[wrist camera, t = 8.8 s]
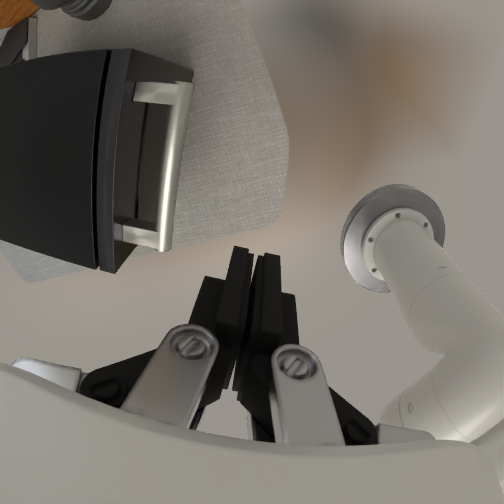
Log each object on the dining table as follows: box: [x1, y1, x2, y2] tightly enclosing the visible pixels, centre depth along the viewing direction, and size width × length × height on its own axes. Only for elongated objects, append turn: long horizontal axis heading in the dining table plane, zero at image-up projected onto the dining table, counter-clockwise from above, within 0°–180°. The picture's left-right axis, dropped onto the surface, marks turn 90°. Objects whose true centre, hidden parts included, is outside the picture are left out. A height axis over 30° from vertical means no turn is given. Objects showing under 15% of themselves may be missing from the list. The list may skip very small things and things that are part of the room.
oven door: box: [96, 48, 195, 274], centre depth 26 cm, size 6×18×18 cm, turn 168°
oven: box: [0, 49, 112, 269], centre depth 26 cm, size 18×18×18 cm
